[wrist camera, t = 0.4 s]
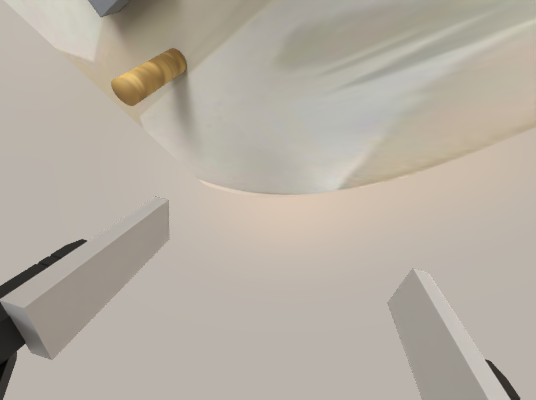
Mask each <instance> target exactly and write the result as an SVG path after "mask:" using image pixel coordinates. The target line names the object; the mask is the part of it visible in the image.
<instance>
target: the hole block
mask: <svg viewBox="0 0 536 400" xmlns="http://www.w3.org/2000/svg"><path fill="white" fill-rule="evenodd" d="M88 1H89V2H90V3H91V5H92V6H93V7H94V9H95V10H96V12H97V13H98V14H99V16H100V17H103V16H107V15H110V14H114V13H117V12H119V11H120V10H121V9H122V8H123V7H124V6H125V5H126V4H127V3H128V2H129V1H131V0H88Z"/></svg>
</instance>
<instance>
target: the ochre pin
mask: <svg viewBox="0 0 536 400" xmlns="http://www.w3.org/2000/svg"><path fill="white" fill-rule="evenodd" d="M186 68H187V64H186V60H185V58H184V56H183V55H182V54H181V52H180V51H178V50H177V49H174V48H172V49H169V50H168V51H166V52H164V53H162V54H160V55H158V56H156V57H155V58H153V59H151V60H149V61H147V62H145V63H143V64H141V65H140V66H138V67H136V68H134V69H132V70H130V71H128V72H127V73H125V74H123V75H121V76H119V77H117V78H115V79H114V80H112V82H111V86H112V89H113V91H114V92H115V94H116V95H117V97H118V98H119V99H120V100H121V101H123V102H124V103H125V104H127V105H130V106H134V105H136V104H137V103H139V102H140V101H141V100H143V99H144V98H146V97H147V96H149V95H150V94H152V93H153V92H155V91H156V90H158V89H159V88H161V87H162V86H163V85H165V84H166V83H168V82H169V81H171V80H172V79H174V78H175V77H177V76H178V75H180V74H181V73H183V72H184V71H185V70H186Z"/></svg>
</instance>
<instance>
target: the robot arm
mask: <svg viewBox="0 0 536 400" xmlns="http://www.w3.org/2000/svg"><path fill="white" fill-rule="evenodd" d="M168 240H169V201H168V200H167V199H163V198H160V197H156V196H155V197H154V198H152V199H151V200H149V201H148V202H146V203H145V204H143V205H141V206H140V207H138V208H137V209H135V210H134V211H132V212H131V213H129V214H128V215H126V216H125V217H124V218H122V219H120V220H119V221H117V222H116V223H114V224H113V225H111V226H110V227H108V228H107V229H105V230H104V231H102V232H101V233H100V234H98V235H96V236H95V237H93V238H92V239H90V240H89V241H87V240H83V239H81V240H79V241H76V242H73V243H71V244H68V245H66V246H64V247H62V248H61V249H59V250H57V251H56V252H54V253H53V254H51V256H50V257H46V258H45V259H43V260H41V261H40V262H39V263H38V264H35V265H33V266H32V267H30V268H28V269H27V270H25V271H24V272H22V273H20V274H19V275H17V276H15V277H14V278H12V279H11V280H9V281H7V282H6V283H4V284H3V285H1V286H0V400H3V397H4V395H5V392H6V389H7V386H8V383H9V380H10V377H11V374H12V371H13V368H14V365H15V362H16V359H17V352H16V351H17V350H18V349H20V348H21V347H22V346H23V345H24V344H25V343H26V345H27V346H28V348H29V350H30V351H31V353H33V354H36V355H39V356H42V357H45V358H48V359H51V360H52V359H54V358H55V356H56V355H57V354H58V353H59V352H60V351H61V350H62V349H63V348H64V347H65V346H66V345H67V344H68V343H69V342H70V341H71V340H72V339H73V338H74V337H75V336H76V335H77V334H78V332H80V331H81V330H82V329H83V328H84V327H85V326H86V325H87V324H88V323H89V322H90V320H91V319H92V318H93V317H94V316H95V315H96V314H97V313H98V312H99V311H100V310H101V309H102V308H103V307H104V306H105V305H106V304H107V303H108V302H109V301H110V300H111V299H112V298H113V297H114V296H115V295H116V294H117V293H118V292H119V291H120V290H121V288H122V287H124V285H125V284H126V283H127V282H128V281H129V280H130V279H131V278H132V277H133V276H134V275H135V274H136V273H137V272H138V271H139V270H140V269H141V268H142V267H143V266H144V265H145V264H146V263H147V262H148V261H149V260H150V259H151V258H152V257H153V256H154V255H155V254H156V253H157V252H158V250H159V249H160V248H161V247H162V246H163V245H164V244H165V243H166V242H167V241H168ZM388 306H389V309H390V311H391V314H392V317H393V319H394V323H395V325H396V328H397V331H398V334H399V337H400V339H401V342H402V345H403V348H404V350H405V353H406V356H407V359H408V361H409V364H410V367H411V370H412V373H413V375H414V378H415V381H416V384H417V387H418V389H419V392H420V395H421V398H422V400H520V397H519V396H518V394H517V393H516V391H515V390H514V388H513V387H512V386H511V384H510V383H509V381H508V380H507V378H506V377H505V376H504V375H503V374H502V373H501V372H500V371H499V370H498V369H497V368H496V367H495V366H494V364H493V363H492V362H491V361H489V360H485V359H484V358H483V356H482V354H481V353H480V351H479V350H478V348H477V347H476V345H475V344H474V342H473V341H472V339H471V337H470V336H469V334H468V333H467V332H466V330H465V328H464V327H463V325H462V324H461V322H460V320H459V319H458V318H457V316H456V314H455V313H454V311H453V310H452V308H451V307H450V305H449V304H448V302H447V301H446V299H445V297H444V296H443V294H442V293H441V291H440V290H439V288H438V287H437V285H436V283H435V282H434V280H433V279H432V277H431V276H430V274H429V273H428V272H426V271H422V270H418V269H414V268H412V270H411V271H410V273H409V274H408V275H407V277H406V278H405V279H404V281H403V282H402V284H401V285H400V286H399V288H398V289H397V290H396V292H395V293H394V294H393V296H392V297H391V299H390V300H389V301H388Z"/></svg>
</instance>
